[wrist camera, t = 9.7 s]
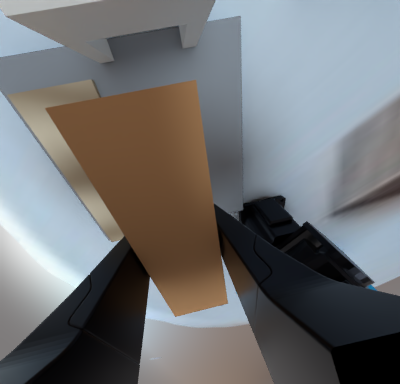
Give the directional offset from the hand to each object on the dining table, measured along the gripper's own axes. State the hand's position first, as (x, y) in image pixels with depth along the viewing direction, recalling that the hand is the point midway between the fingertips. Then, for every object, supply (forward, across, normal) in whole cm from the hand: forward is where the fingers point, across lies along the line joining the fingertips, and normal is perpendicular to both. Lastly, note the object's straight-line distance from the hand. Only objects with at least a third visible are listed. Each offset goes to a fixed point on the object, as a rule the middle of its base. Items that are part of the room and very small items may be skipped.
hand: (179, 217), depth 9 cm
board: (+9, +2, -1) cm, 10 cm away
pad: (+8, +7, 0) cm, 11 cm away
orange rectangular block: (+1, 0, 0) cm, 1 cm away
